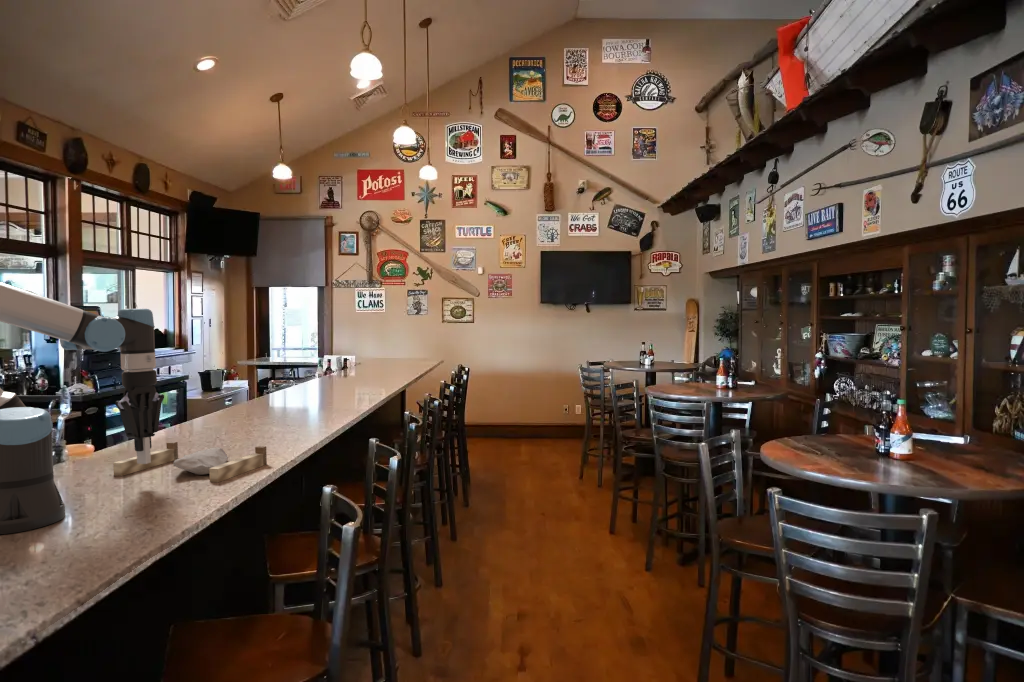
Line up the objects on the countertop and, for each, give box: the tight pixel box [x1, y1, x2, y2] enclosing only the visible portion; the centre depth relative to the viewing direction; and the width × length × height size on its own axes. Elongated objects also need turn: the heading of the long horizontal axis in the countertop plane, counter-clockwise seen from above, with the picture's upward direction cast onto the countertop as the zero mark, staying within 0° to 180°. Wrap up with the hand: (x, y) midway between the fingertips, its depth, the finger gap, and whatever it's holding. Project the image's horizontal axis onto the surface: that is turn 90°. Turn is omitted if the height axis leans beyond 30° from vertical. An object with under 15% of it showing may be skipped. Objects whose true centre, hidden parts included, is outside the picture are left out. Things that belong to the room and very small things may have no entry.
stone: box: [172, 446, 229, 476], centre depth 176 cm, size 12×5×25 cm
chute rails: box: [112, 441, 268, 483], centre depth 173 cm, size 20×33×5 cm, turn 76°
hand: (144, 462), depth 157 cm, fingers closed
